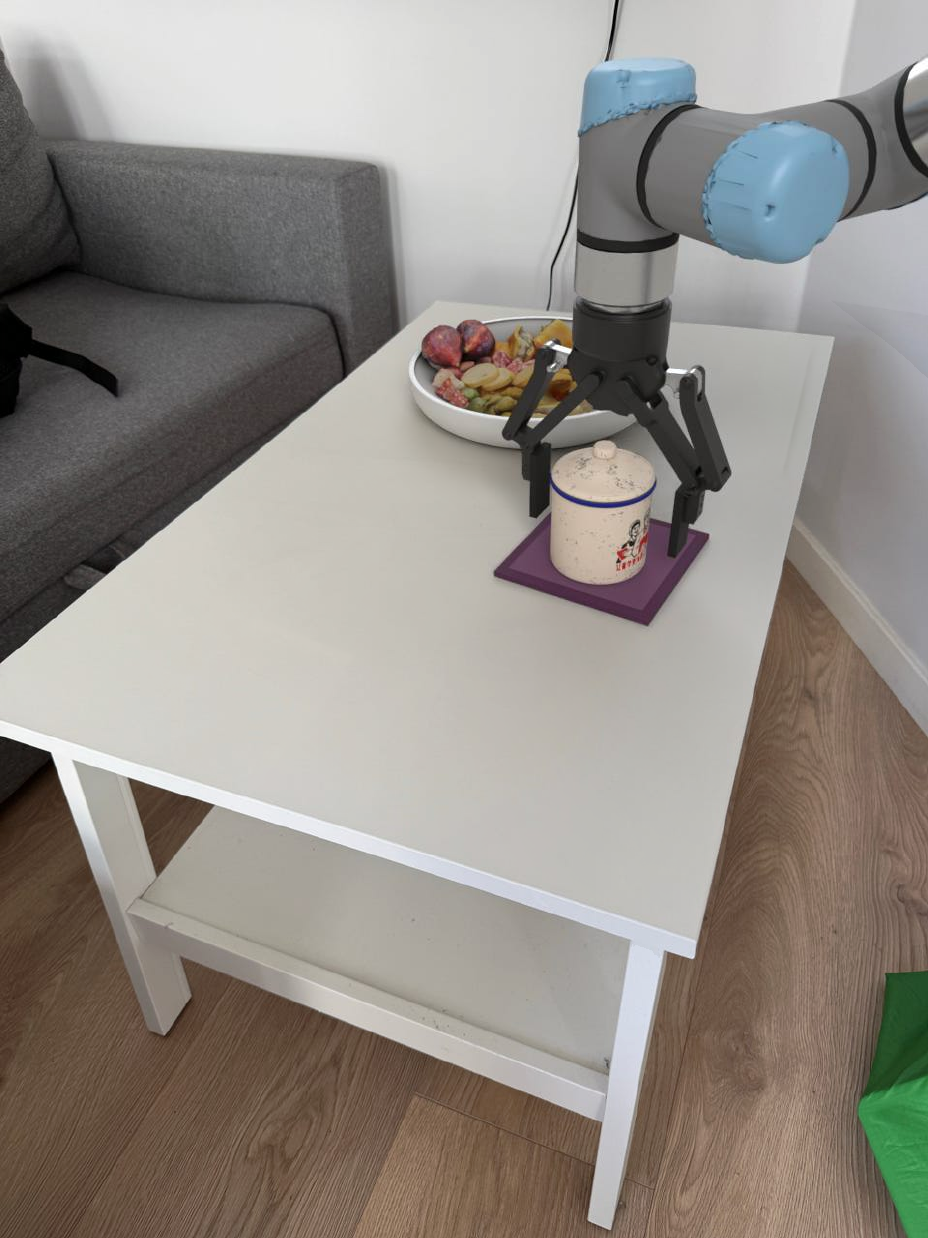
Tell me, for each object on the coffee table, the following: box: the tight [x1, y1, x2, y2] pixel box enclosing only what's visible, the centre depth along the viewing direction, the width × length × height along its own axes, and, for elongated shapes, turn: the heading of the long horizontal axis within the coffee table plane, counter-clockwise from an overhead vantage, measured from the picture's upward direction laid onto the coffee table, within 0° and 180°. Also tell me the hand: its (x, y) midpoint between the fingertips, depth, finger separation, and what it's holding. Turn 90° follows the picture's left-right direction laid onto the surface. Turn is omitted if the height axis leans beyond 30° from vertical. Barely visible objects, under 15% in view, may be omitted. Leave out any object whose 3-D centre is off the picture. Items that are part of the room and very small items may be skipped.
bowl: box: [407, 315, 651, 450], centre depth 109 cm, size 30×30×8 cm
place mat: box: [493, 510, 710, 627], centre depth 85 cm, size 15×15×1 cm
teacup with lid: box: [550, 439, 658, 585], centre depth 81 cm, size 12×9×12 cm
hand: (605, 529), depth 83 cm, fingers open, 13 cm apart
